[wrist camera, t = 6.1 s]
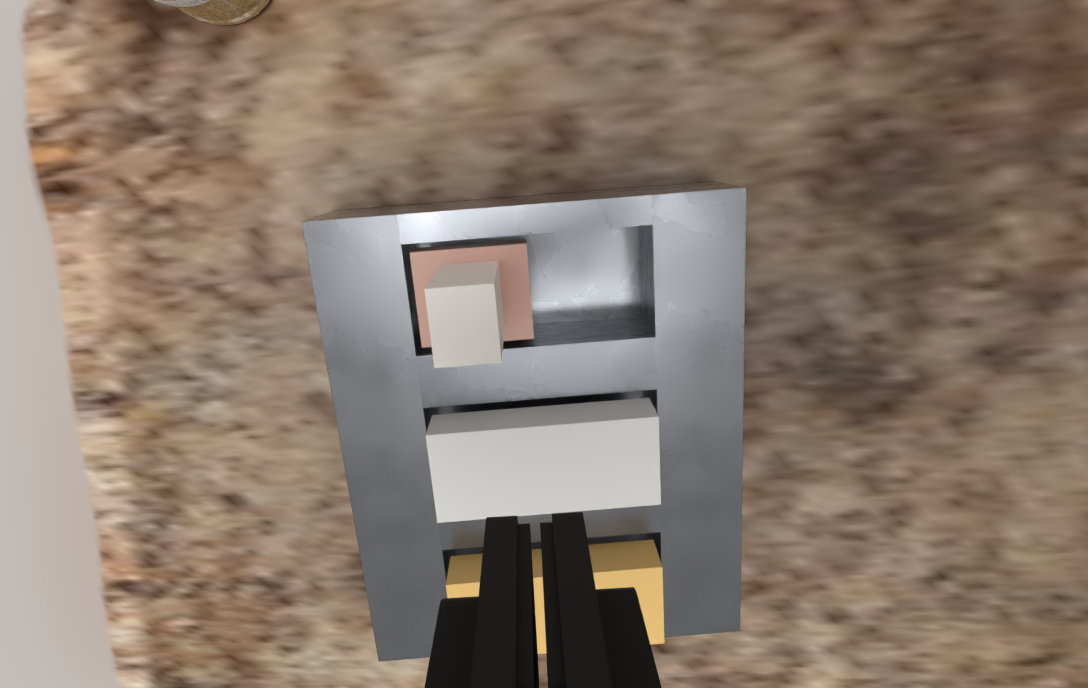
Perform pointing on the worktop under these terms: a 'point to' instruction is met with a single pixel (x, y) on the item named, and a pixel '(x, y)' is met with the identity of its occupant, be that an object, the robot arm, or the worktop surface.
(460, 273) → the slider lever
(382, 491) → the control panel
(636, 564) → the amber button
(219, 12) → the sprinkles bottle
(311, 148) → the worktop surface
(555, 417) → the white button
